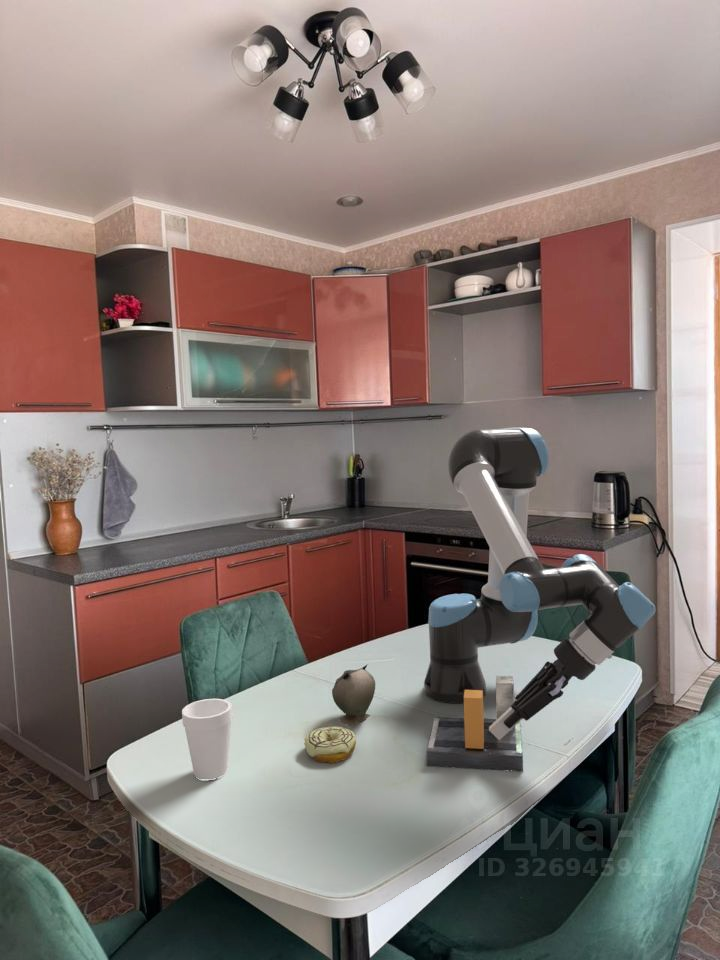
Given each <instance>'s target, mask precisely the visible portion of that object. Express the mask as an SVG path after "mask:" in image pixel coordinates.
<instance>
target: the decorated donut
mask: <svg viewBox="0 0 720 960" xmlns="http://www.w3.org/2000/svg"><path fill="white" fill-rule="evenodd" d="M303 743H304V748H305V750H306V753H307V755H309V756H310V757H311V758H312V759H315V760H316V761H317V762H322V763H330V764H331V763H332V764H336V763H338V762H342V761H343V760H347V759H348V758H349V757H350V756H351V755H352V754H353V752H354V750H355V749H356V746H357V745H356V744H357V740H356V736H355V733H354V732H353V731H352V730H350V729H348V728H345V727H342V726H334V725H333V726H328V727H327V726H325V727H321V728H320V727H319V728H316V729H313V730H312V731H310V732H309V733H308V734H307V735H306V736H305V737H304V742H303Z"/></svg>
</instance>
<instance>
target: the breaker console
mask: <svg viewBox="0 0 720 960" xmlns="http://www.w3.org/2000/svg"><path fill="white" fill-rule="evenodd" d="M514 685H515V684H514V676H513V675H495V699H496V700H495V701H496V702H495V703H496V719H495V718H484V749H475V748H465V724H464V717H457V716H456V717H453V716H434V718H433V722H432V723H433V724H432V727H431V732H430V737H429V741H428V745H427V749H426V760H427V761H426V763H427V764H426V766H427V767H435V766H436V767H437V768H438V766H439V768H452V767H455V769H469V770H475V769H476V770H487V771H489V770H490V771H503V770H509V772H520V771H523V772H524V758H523V757H524V756H523V755H524V754H523V740H522V726H521V725H522V724H521V721H520V722H519V723H518V724H516V725H515V726H514V727H513V728H512V729H511V730H510V731H509V732H508V733H507V734H506V735H505V736H503V737H502V738H501V739H500V740H498V739H497V738H496V737H495V736H494V735H493V734H492V733H491V732H490V731H489V727H490V726H491V725H492V724H493V723H494V722H495V721H496V720H497V719H498V718H499V717H500V716H501V715H502V714H503V713H505V712H506V711H507V710H508V709H509V708H510V707H511V705H512V704H513V703H514V701H515V693H514V692H515V689H514ZM470 768H471V769H470ZM488 769H489V770H488ZM511 770H512V771H511Z"/></svg>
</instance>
